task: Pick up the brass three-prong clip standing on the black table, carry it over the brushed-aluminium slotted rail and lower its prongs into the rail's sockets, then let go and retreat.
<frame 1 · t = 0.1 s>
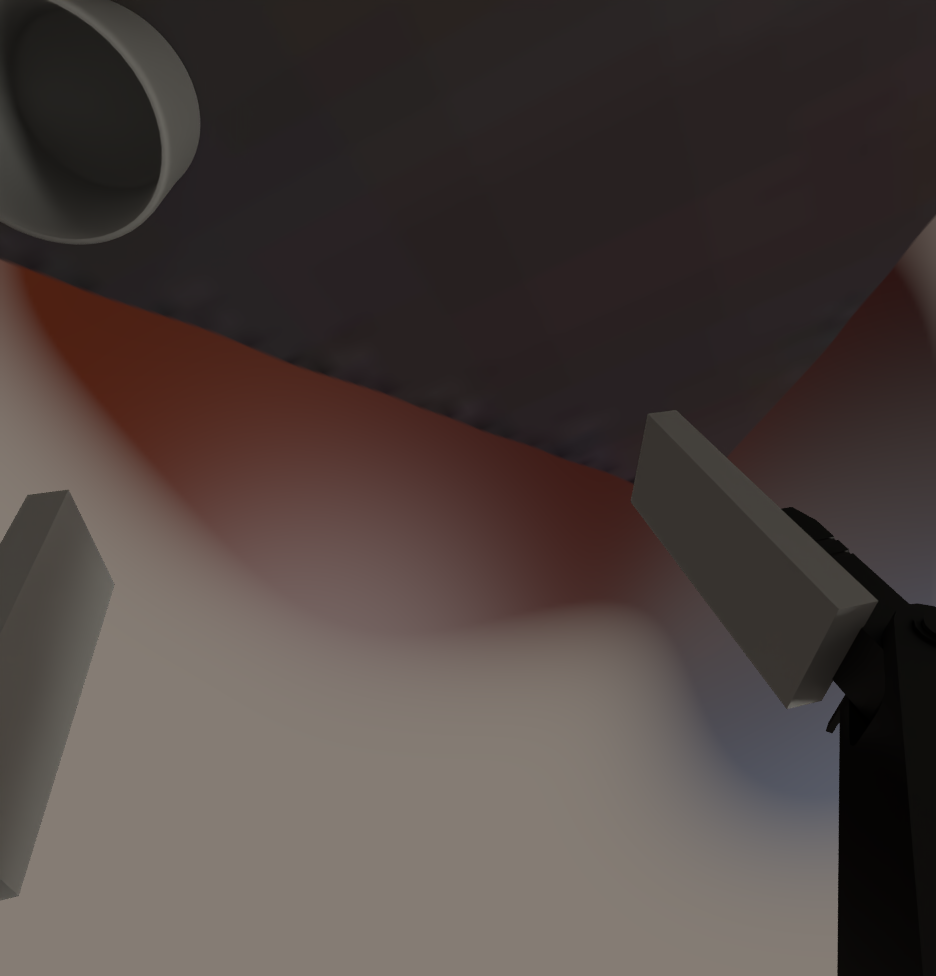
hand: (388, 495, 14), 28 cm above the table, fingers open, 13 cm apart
mug: (72, 79, 30), on the table
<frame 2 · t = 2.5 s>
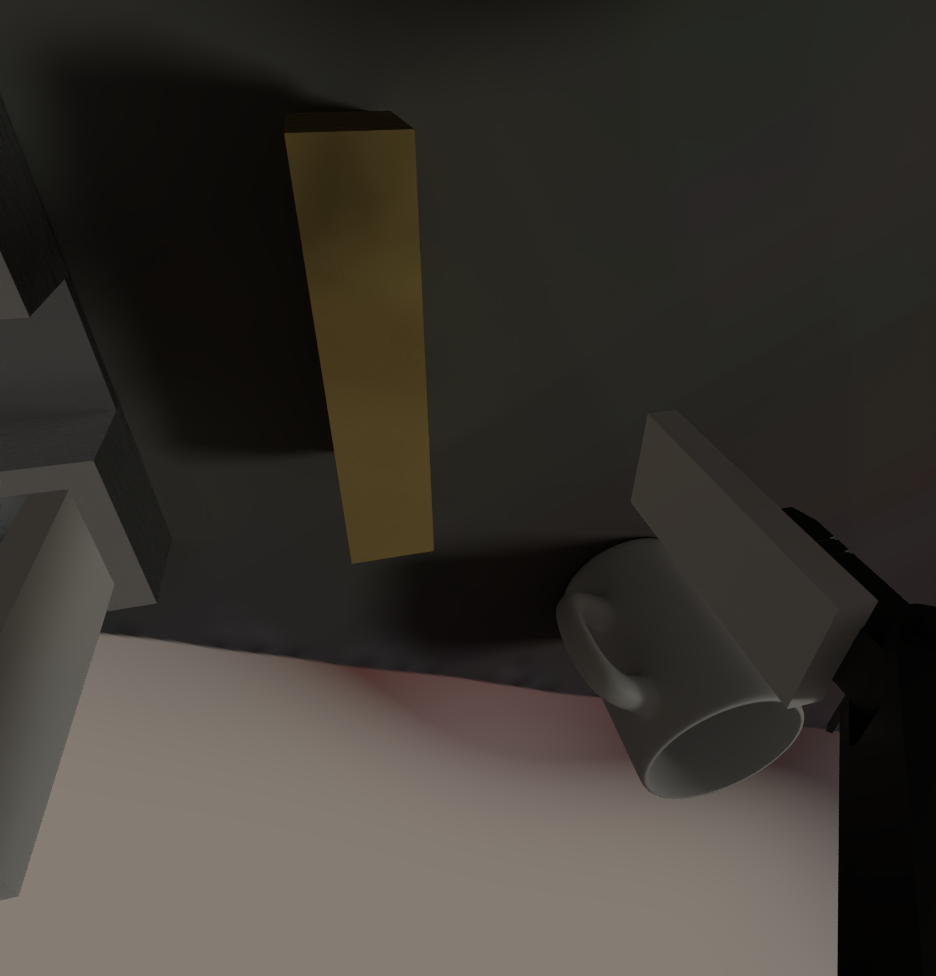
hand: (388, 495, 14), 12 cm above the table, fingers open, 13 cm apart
clip: (356, 308, 24), on the table
mug: (604, 579, 37), on the table
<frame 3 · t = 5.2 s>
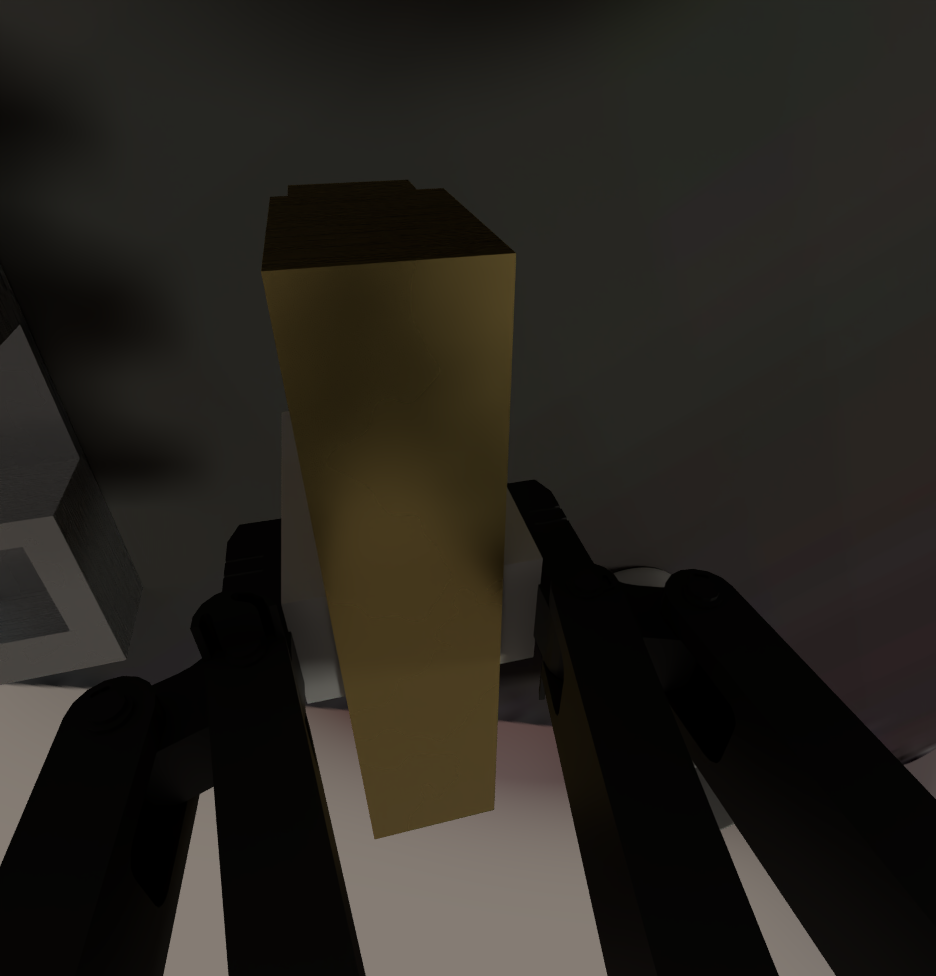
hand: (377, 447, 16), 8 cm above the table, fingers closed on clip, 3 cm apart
clip: (377, 445, 17), point 8 cm above the table, touching gripper
mug: (596, 610, 36), on the table
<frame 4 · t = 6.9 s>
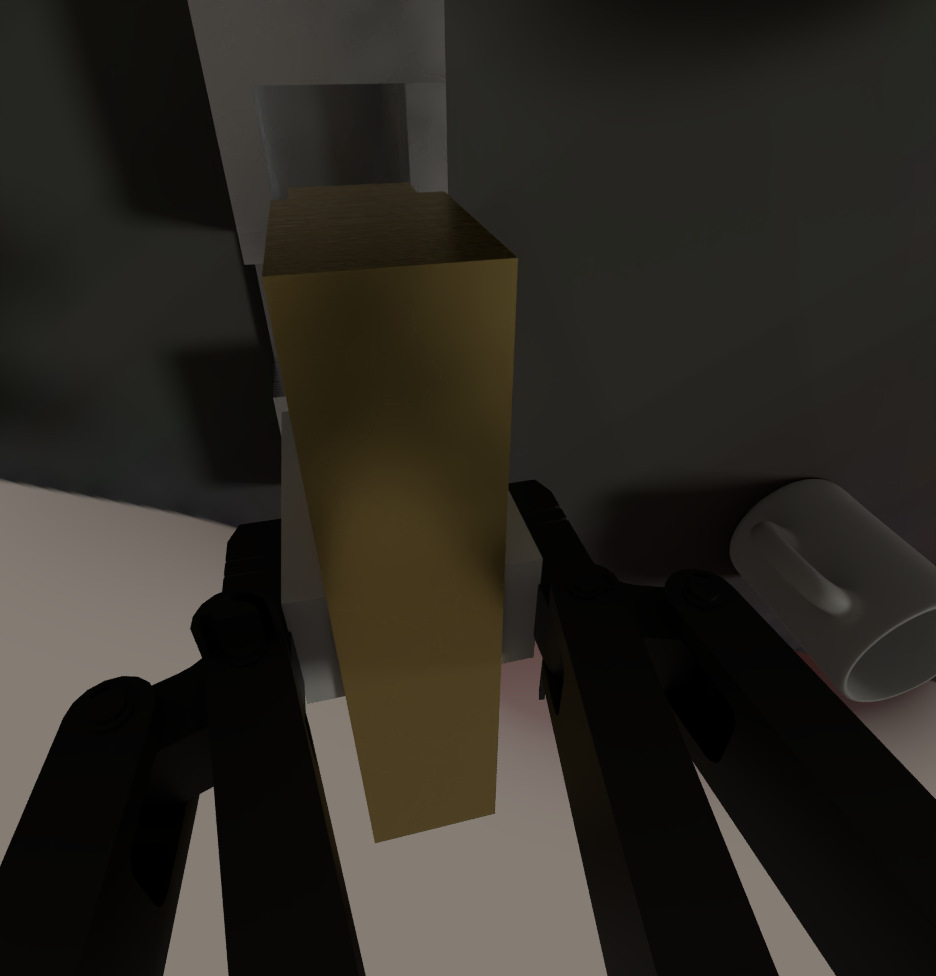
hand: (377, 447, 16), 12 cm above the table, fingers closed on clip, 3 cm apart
rail: (349, 291, 26), on the table
clip: (377, 448, 17), point 12 cm above the table, touching gripper
mug: (768, 518, 41), on the table
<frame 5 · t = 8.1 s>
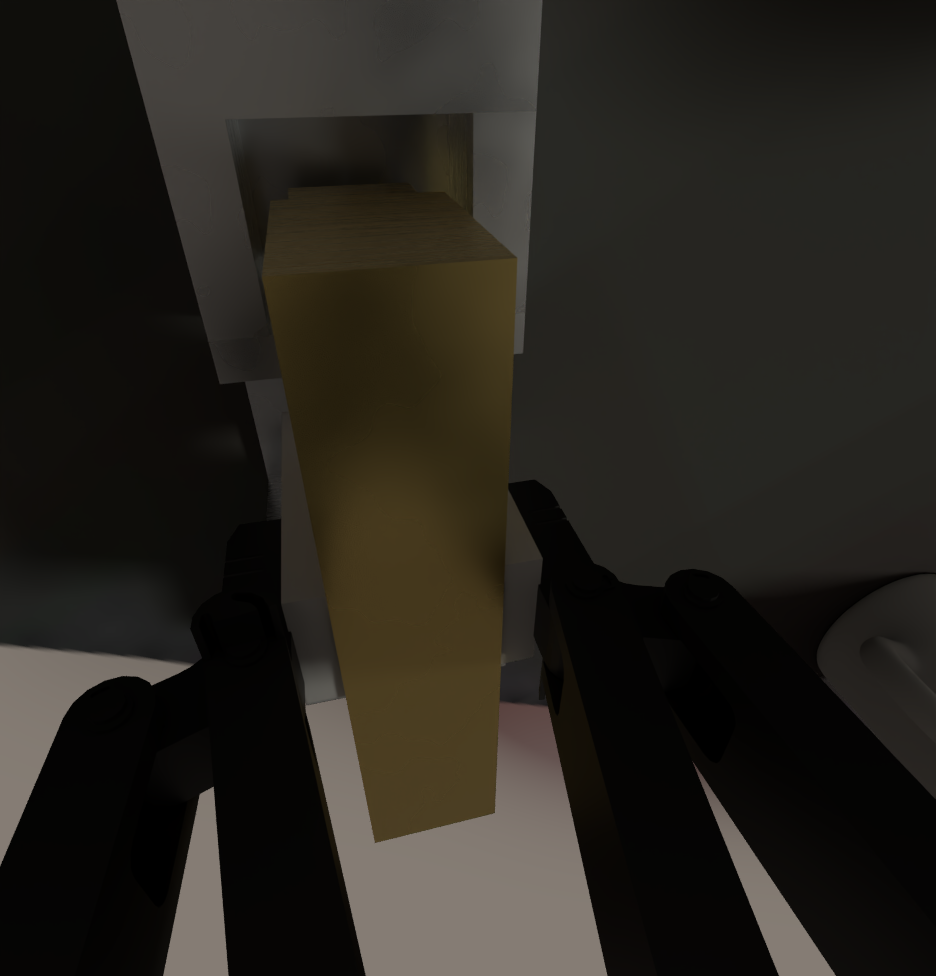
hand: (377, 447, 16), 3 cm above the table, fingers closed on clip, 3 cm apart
rail: (370, 387, 19), on the table
clip: (377, 448, 17), point 3 cm above the table, touching gripper
mug: (865, 616, 34), on the table
when the fingers open (2 cm above the table, at t = 8.6 s): clip stays where it is, resting on rail.
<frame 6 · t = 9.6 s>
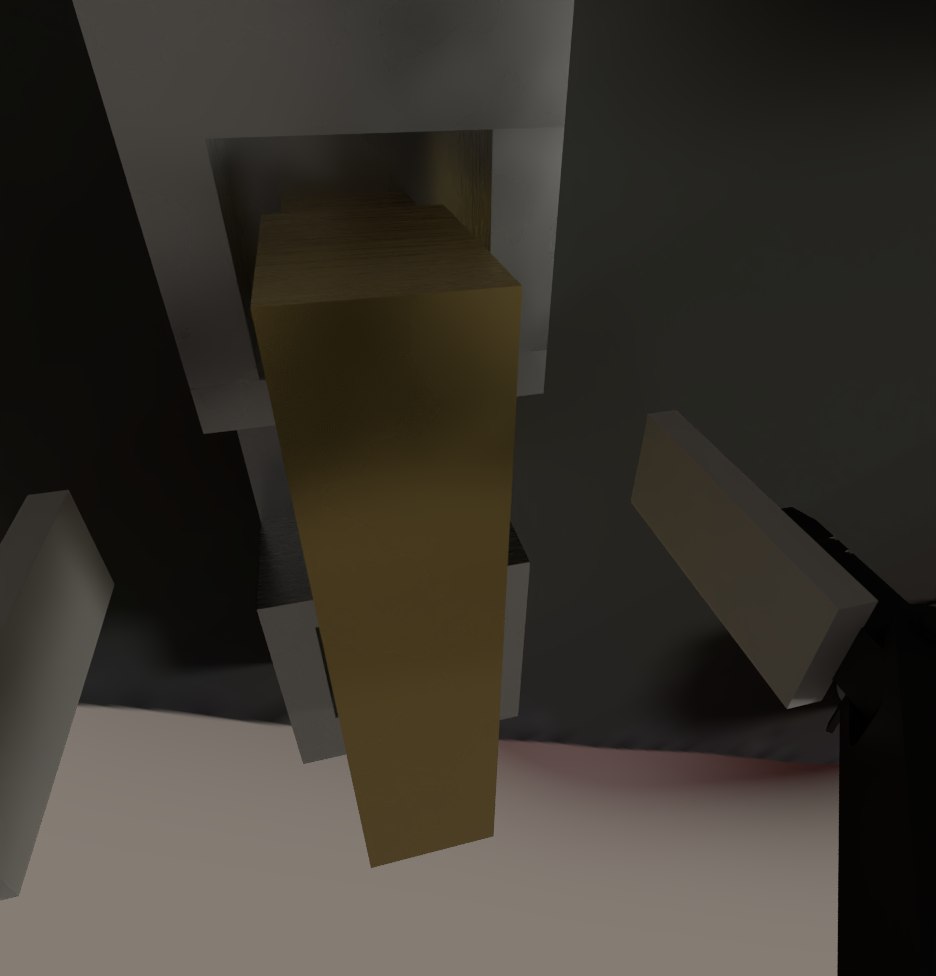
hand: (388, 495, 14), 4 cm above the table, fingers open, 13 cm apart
rail: (371, 422, 17), on the table
clip: (373, 461, 16), point 1 cm above the table, touching rail
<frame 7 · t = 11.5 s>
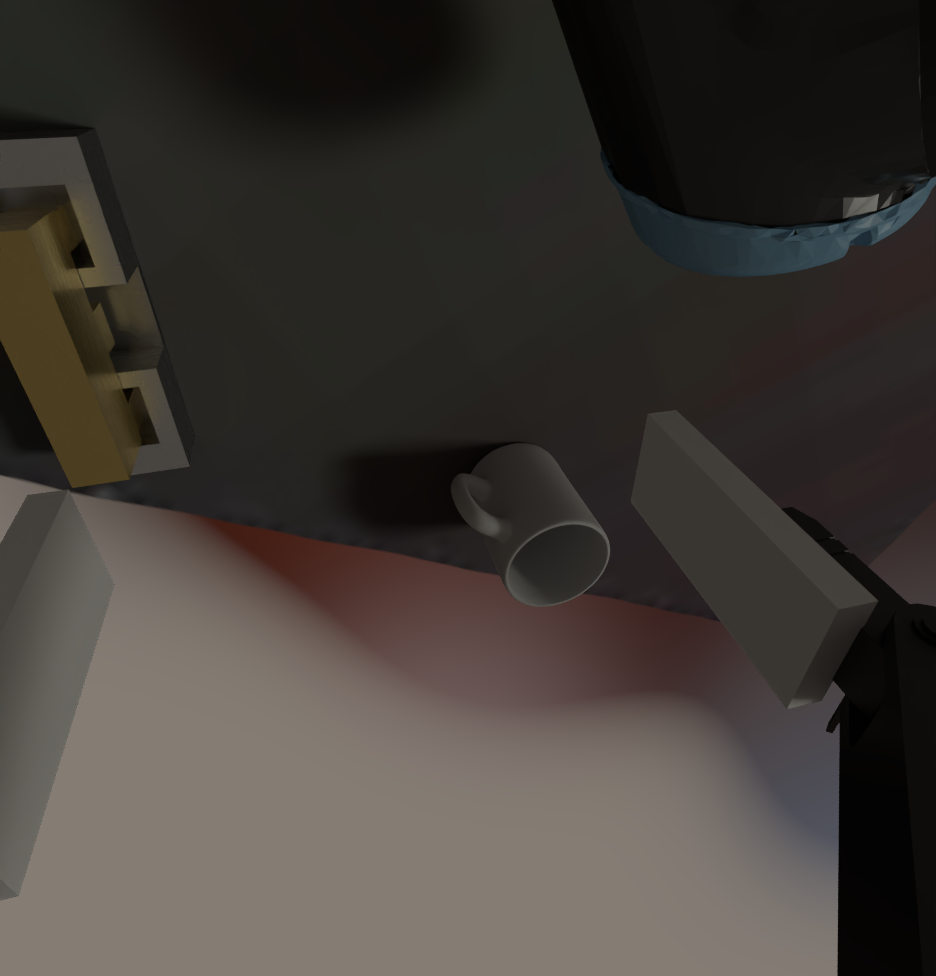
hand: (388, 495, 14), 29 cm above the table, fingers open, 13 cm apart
rail: (91, 311, 37), on the table
clip: (84, 325, 36), point 1 cm above the table, touching rail
mug: (495, 475, 53), on the table
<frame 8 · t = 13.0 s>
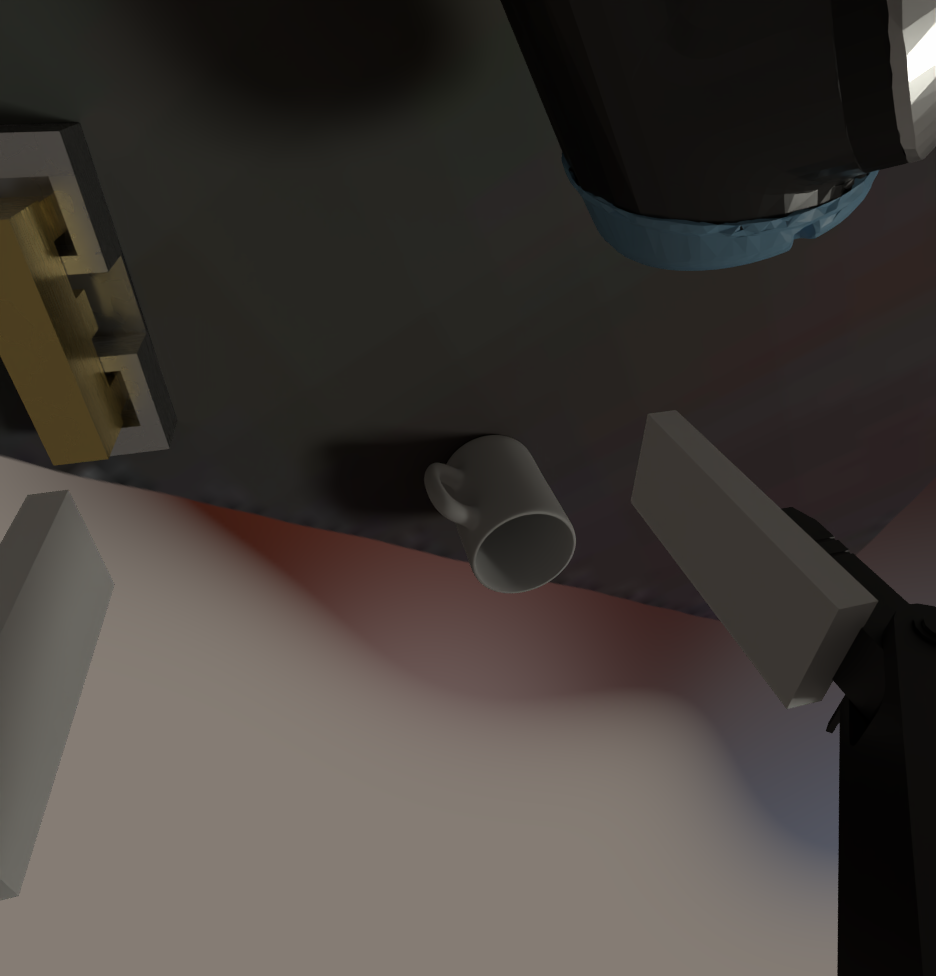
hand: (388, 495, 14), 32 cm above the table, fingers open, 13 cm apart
rail: (76, 297, 39), on the table
clip: (69, 310, 38), point 1 cm above the table, touching rail
mug: (471, 466, 54), on the table
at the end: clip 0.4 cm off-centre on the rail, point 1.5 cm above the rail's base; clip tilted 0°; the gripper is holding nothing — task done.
